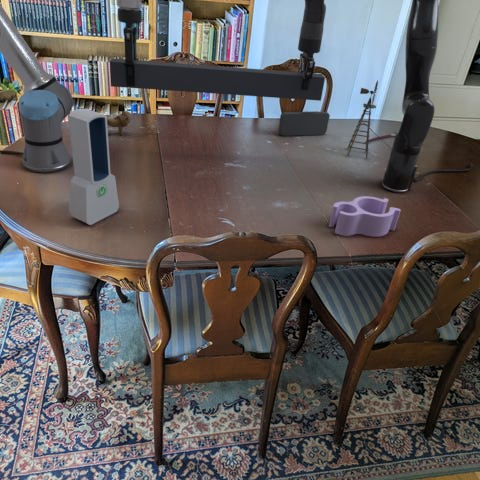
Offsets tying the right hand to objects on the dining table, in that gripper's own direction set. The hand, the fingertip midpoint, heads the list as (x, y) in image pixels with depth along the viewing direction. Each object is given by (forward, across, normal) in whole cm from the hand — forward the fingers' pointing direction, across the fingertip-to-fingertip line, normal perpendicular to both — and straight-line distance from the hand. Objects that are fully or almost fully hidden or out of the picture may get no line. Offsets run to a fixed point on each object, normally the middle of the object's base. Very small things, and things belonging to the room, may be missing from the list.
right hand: (302, 87), depth 165 cm
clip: (+29, -47, -13) cm, 57 cm away
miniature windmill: (+29, +12, -30) cm, 43 cm away
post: (+3, 0, +30) cm, 30 cm away
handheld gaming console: (+28, +31, -10) cm, 43 cm away
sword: (+29, +33, -51) cm, 67 cm away
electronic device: (+28, -46, +66) cm, 85 cm away
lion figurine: (+28, +19, +70) cm, 78 cm away
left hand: (+2, 0, +60) cm, 60 cm away
